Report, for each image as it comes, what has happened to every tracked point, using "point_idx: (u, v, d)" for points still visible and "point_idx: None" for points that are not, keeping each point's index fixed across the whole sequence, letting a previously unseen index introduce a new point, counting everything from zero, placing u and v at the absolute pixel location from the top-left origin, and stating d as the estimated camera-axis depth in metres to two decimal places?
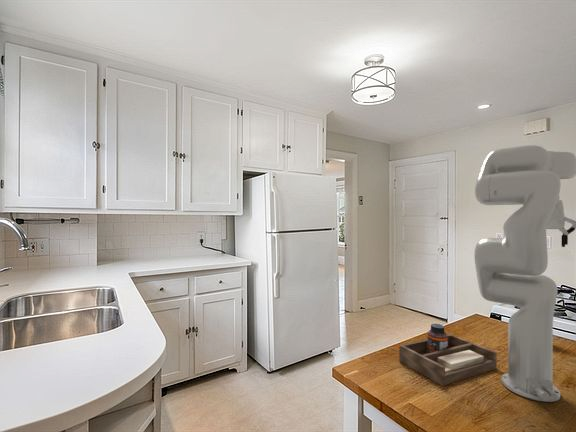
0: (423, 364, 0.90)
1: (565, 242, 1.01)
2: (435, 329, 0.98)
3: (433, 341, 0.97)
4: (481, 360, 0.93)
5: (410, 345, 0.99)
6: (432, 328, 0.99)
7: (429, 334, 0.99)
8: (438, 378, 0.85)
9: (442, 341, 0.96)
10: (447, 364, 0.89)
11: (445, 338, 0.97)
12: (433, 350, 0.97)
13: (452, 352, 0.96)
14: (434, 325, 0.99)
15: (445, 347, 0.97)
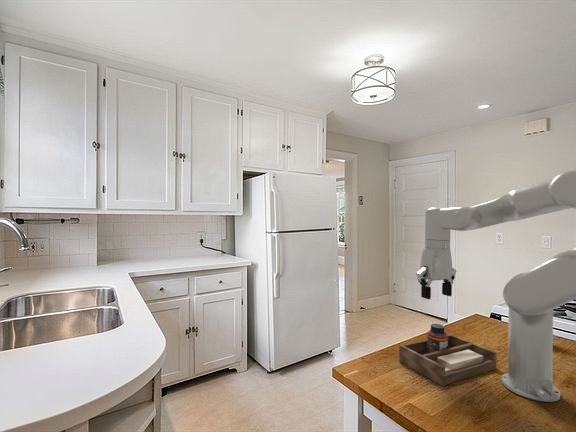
0: (423, 364, 0.90)
1: None
2: (435, 329, 0.98)
3: (433, 341, 0.97)
4: (480, 360, 0.93)
5: (410, 345, 0.99)
6: (432, 328, 0.99)
7: (429, 334, 0.99)
8: (438, 378, 0.85)
9: (442, 341, 0.96)
10: (447, 364, 0.89)
11: (445, 338, 0.97)
12: (433, 350, 0.97)
13: (452, 352, 0.96)
14: (434, 325, 0.99)
15: (445, 347, 0.97)
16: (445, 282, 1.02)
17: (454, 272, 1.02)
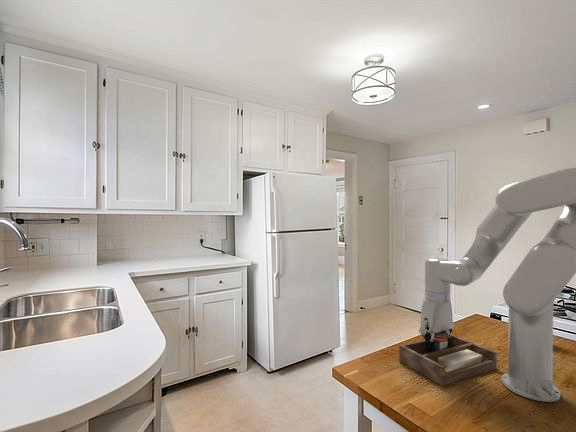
0: (423, 364, 0.90)
1: None
2: None
3: (433, 341, 0.97)
4: (479, 359, 0.93)
5: (410, 345, 0.99)
6: None
7: (429, 334, 0.99)
8: (438, 378, 0.85)
9: (442, 341, 0.96)
10: (448, 364, 0.89)
11: (445, 338, 0.97)
12: None
13: (452, 352, 0.96)
14: None
15: (445, 347, 0.97)
16: None
17: (452, 326, 1.01)
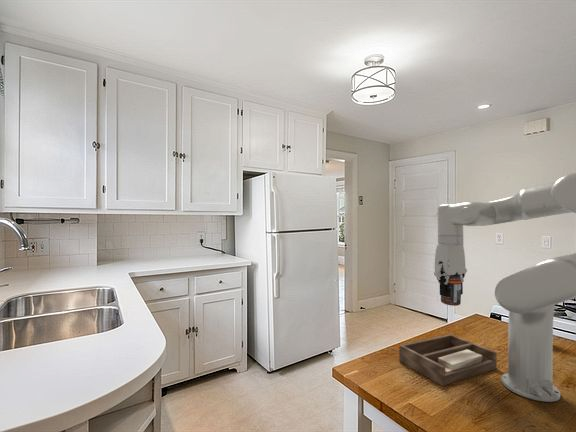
0: (423, 364, 0.90)
1: None
2: None
3: None
4: (480, 359, 0.93)
5: (410, 345, 0.99)
6: None
7: None
8: (438, 378, 0.85)
9: (457, 284, 0.98)
10: (448, 365, 0.88)
11: (459, 281, 0.98)
12: None
13: (452, 352, 0.96)
14: None
15: (459, 290, 0.98)
16: None
17: (465, 271, 1.03)
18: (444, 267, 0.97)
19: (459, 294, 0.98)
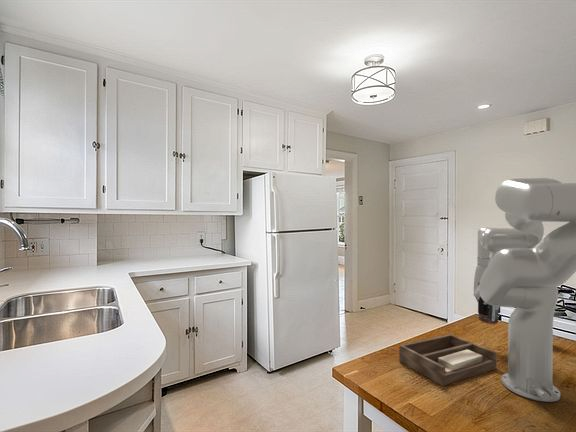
0: (423, 364, 0.90)
1: None
2: None
3: None
4: (480, 359, 0.93)
5: (410, 345, 0.99)
6: None
7: None
8: (438, 378, 0.85)
9: None
10: (448, 365, 0.88)
11: None
12: None
13: (452, 352, 0.96)
14: None
15: (497, 309, 1.04)
16: None
17: None
18: None
19: (497, 313, 1.04)
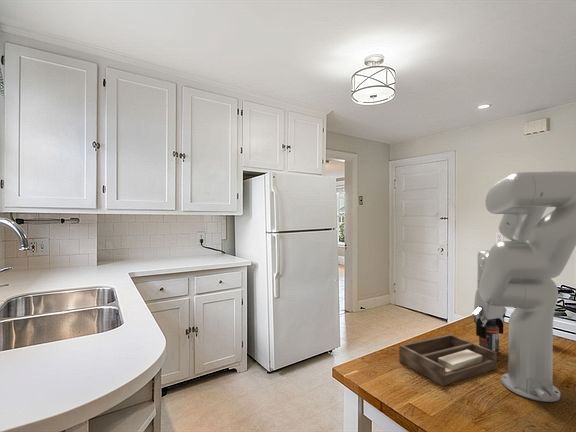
0: (423, 364, 0.90)
1: None
2: (487, 322, 1.05)
3: None
4: (480, 359, 0.93)
5: (410, 345, 0.99)
6: None
7: None
8: (438, 378, 0.85)
9: (495, 333, 1.03)
10: (448, 365, 0.88)
11: (497, 330, 1.03)
12: (486, 342, 1.04)
13: (452, 352, 0.96)
14: None
15: (497, 339, 1.03)
16: (496, 320, 1.08)
17: (504, 310, 1.09)
18: (484, 312, 1.03)
19: (497, 343, 1.04)
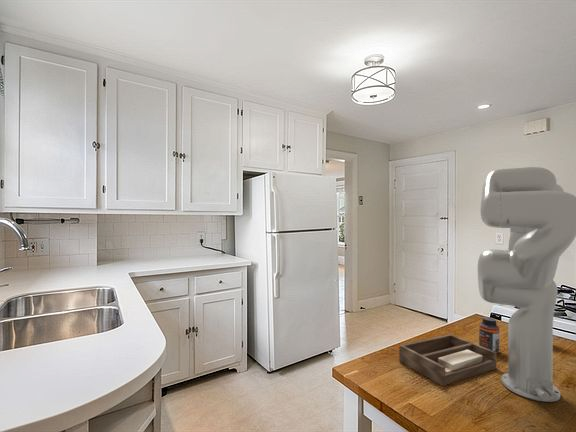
0: (423, 364, 0.90)
1: None
2: (488, 322, 1.05)
3: (486, 333, 1.04)
4: (480, 359, 0.93)
5: (410, 345, 0.99)
6: (484, 321, 1.06)
7: (482, 326, 1.06)
8: (438, 378, 0.85)
9: (495, 333, 1.03)
10: (448, 365, 0.88)
11: (497, 330, 1.04)
12: (486, 341, 1.04)
13: (452, 352, 0.96)
14: (486, 318, 1.06)
15: (497, 338, 1.04)
16: None
17: None
18: None
19: (497, 343, 1.04)
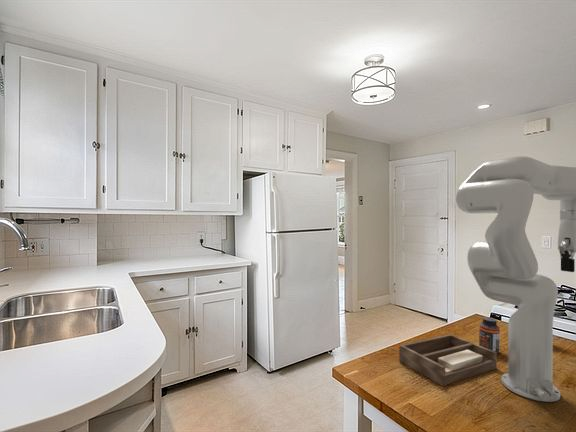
0: (423, 364, 0.90)
1: (563, 266, 0.94)
2: (488, 322, 1.04)
3: (486, 333, 1.04)
4: (480, 360, 0.93)
5: (410, 345, 0.99)
6: (485, 321, 1.05)
7: (482, 327, 1.05)
8: (438, 378, 0.85)
9: (496, 333, 1.03)
10: (448, 365, 0.88)
11: (498, 330, 1.03)
12: (486, 342, 1.04)
13: (452, 352, 0.96)
14: (486, 318, 1.06)
15: (498, 339, 1.03)
16: None
17: None
18: (572, 243, 0.93)
19: (498, 343, 1.04)
